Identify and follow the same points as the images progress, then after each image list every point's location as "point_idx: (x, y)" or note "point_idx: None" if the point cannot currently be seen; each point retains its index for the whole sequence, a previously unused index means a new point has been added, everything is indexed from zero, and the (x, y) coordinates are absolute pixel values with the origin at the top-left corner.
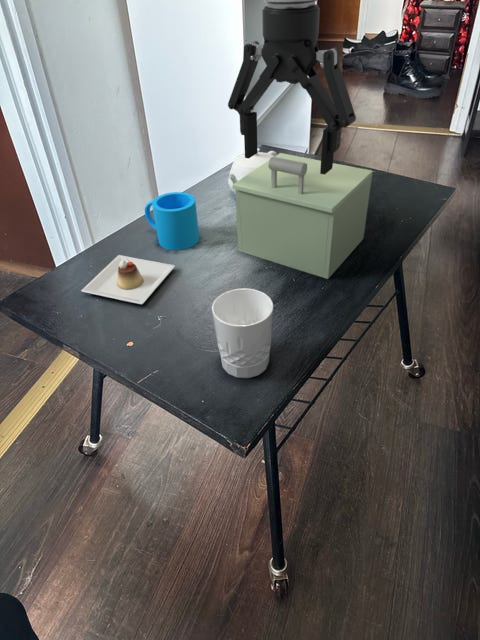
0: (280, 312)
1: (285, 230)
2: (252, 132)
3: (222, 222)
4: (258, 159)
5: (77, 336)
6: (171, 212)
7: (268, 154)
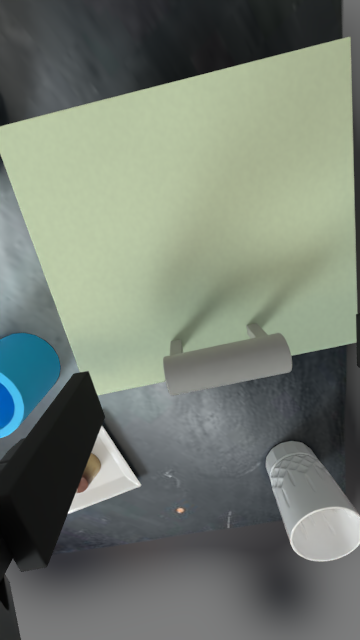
0: (269, 386)
1: None
2: (68, 454)
3: (22, 277)
4: None
5: (131, 534)
6: (17, 426)
7: None
